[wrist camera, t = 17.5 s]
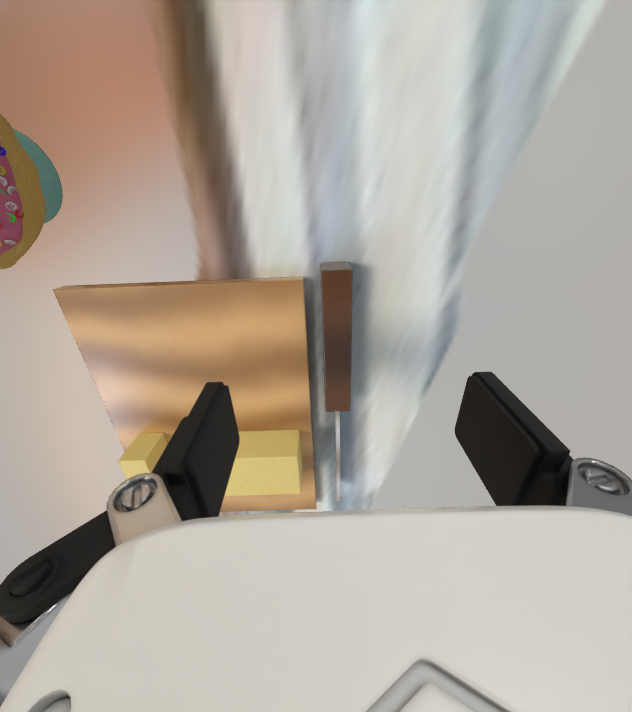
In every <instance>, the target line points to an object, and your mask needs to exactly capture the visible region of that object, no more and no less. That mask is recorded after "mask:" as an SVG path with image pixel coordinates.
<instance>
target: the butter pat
mask: <svg viewBox="0 0 632 712" xmlns="http://www.w3.org/2000/svg"><path fill="white" fill-rule="evenodd" d="M166 446H167V442H166V439H165V436H164V433H140V434H139V435H138V436H137V437H136V439H135V440H134V441H133V442H132V444H131V445H130V446H129V448H128V449H127V450H126V452H125V453H124V454H123V455H122V457H121V458H120V459H119V461H118V462H119V464H120V466H121V469H122V471H123V473H124V475H125V477H126V479H129V478H131V477H133V476H135V475H138V474H142V473H151V472H152V471H153V469H154V467H155V465H156V464H157V462H158V460H159V458H160V457H161V455H162V453H163V451H164V450H165V448H166Z"/></svg>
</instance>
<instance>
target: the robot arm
mask: <svg viewBox="0 0 632 712" xmlns="http://www.w3.org/2000/svg"><path fill="white" fill-rule="evenodd" d="M455 435H456V437H457V439H458V441H459V443H460V444H461V446H462V448H463V450H464V451H465V453H466V455H467V456H468V458H469V460H470V461H471V463H472V465H473V467H474V468H475V470H476V472H477V473H478V475H479V477H480V478H481V480H482V482H483V483H484V485H485V487H486V489H487V490H488V492H489V494H490V495H491V497H492V499H493V501H494V502H495V504H496V506H479V507H443V508H411V509H410V508H409V509H382V510H381V509H379V510H350V511H323V512H297V513H272V514H252V515H234V516H219V513H220V510H221V506H222V503H223V499H224V496H225V492H226V489H227V485H228V482H229V478H230V475H231V471H232V468H233V464H234V461H235V458H236V454H237V451H238V447H239V442H240V437H239V432H238V427H237V423H236V418H235V414H234V409H233V404H232V400H231V395H230V391H229V387H228V385H224V384H223V382H207V383H206V384H205V386H204V388H203V390H202V391H201V393H200V395H199V397H198V399H197V400H196V402H195V404H194V406H193V408H192V409H191V411H190V413H189V415H188V416H186V417H184V418H183V419H182V420H181V422H180V423H179V425H178V427H177V429H176V430H175V432H174V434H173V436H172V437H171V439H170V441H169V443H168V444H167V446H166V448H165V450H164V451H163V453H162V455H161V457H160V458H159V460H158V462H157V464H156V465H155V467H154V469H153V471H152V472H151V473H142V474H138V475H135V476H133V477H131V478H129V479H127V480H126V481H124V482H122V483H121V484H120V485H119V486H118V487H117V488H116V489H115V490H114V491H113V492H112V494H111V495H110V496H109V499H108V501H107V511H105V512H104V513H102V514H100V515H98V516H97V517H95V518H93V519H92V520H90V521H89V522H87V523H85V524H84V525H82V526H80V527H79V528H77V529H76V530H74V531H72V532H71V533H69V534H67V535H66V536H64V537H62V538H61V539H59V540H58V541H56V542H54V543H53V544H51V545H49V546H48V547H46V548H45V549H43V550H41V551H39V552H38V553H36V554H35V555H33V556H31V557H30V558H28V559H27V560H25V561H24V562H23V563H21V564H20V565H18V567H16V568H15V569H14V570H13V571H12V572H11V573H10V574H9V575H8V576H7V577H6V579H5V580H4V581H3V583H2V584H1V585H0V712H632V480H631V479H630V478H629V477H628V476H627V475H626V474H624V473H623V472H622V471H620V470H618V469H617V468H615V467H614V466H612V465H609V464H607V463H605V462H603V461H599V460H596V459H591V458H577V459H575V460H573V459H572V457H571V456H570V455H569V453H570V450H569V449H568V448H567V447H566V446H565V445H564V444H563V443H562V442H560V440H559V439H558V438H557V437H556V436H555V435H554V434H553V433H552V432H551V431H550V430H549V429H548V428H547V427H546V426H545V425H544V424H543V423H542V422H541V421H540V420H539V419H538V418H537V417H536V416H535V415H534V414H533V413H532V412H531V411H530V410H529V409H528V408H527V407H526V406H525V405H524V404H523V403H522V402H521V401H520V400H519V399H518V398H517V397H516V396H515V395H514V394H513V393H512V392H511V391H510V390H509V389H508V388H507V387H506V386H505V385H504V384H503V383H502V382H501V381H500V380H499V379H498V378H497V377H496V376H495V375H494V374H493V373H492V372H475V373H473V374H472V376H469V377H468V379H467V383H466V387H465V391H464V395H463V399H462V403H461V407H460V411H459V415H458V418H457V422H456V426H455Z"/></svg>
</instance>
